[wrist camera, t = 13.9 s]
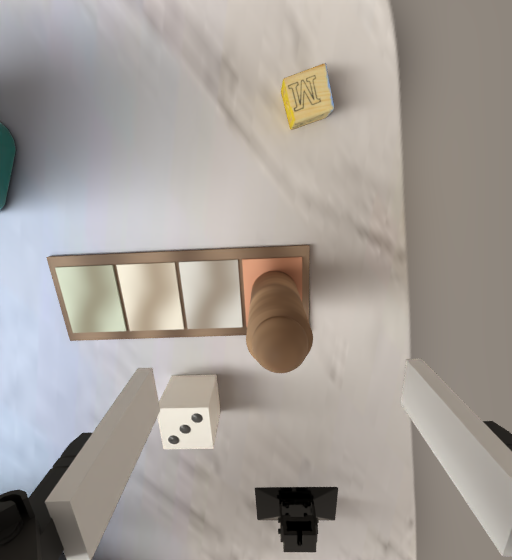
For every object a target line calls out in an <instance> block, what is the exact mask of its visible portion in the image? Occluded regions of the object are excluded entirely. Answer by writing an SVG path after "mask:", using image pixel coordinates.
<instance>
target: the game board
mask: <svg viewBox="0 0 512 560" xmlns="http://www.w3.org/2000/svg"><path fill="white" fill-rule="evenodd" d="M309 252H310V246H309V245H298V246H275V247H252V248H229V249H206V250H183V251H161V252H138V253H115V254H92V255H69V256H49V257H47V261H48V264H49V268H50V271H51V275H52V279H53V282H54V286H55V289H56V293H57V296H58V300H59V303H60V307H61V310H62V314H63V317H64V321H65V324H66V328H67V332H68V335H69V339H70V341H76V340H108V339H139V338H170V337H201V336H233V335H247V326H248V317H249V309H250V300H251V291H252V286H253V284H254V282H255V280H256V279H257V278H258V277H259V276H260V275H262V274H263V273H265V272H268V271H281V272H284V273H286V274H288V275H289V276H290V277H291V278H292V279H293V280H294V282H295V284H296V287H297V290H298V293H299V295H300V298H301V301H302V304H303V307H304V310H305V313H306V316H307V318H308V321H309Z"/></svg>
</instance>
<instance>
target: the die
mask: <svg viewBox="0 0 512 560" xmlns="http://www.w3.org/2000/svg"><path fill="white" fill-rule="evenodd" d="M159 407H160V412H159V414H158V417H157V418H158V423H159V429H160V434H161V439H162V444H163V449H213V448H214V443H215V437H216V432H217V427H218V422H219V416H220V402H219V393H218V383H217V375H180V376H171V378H170V380H169V382H168V384H167V387H166V389H165V391H164V393H163V395H162V397H161V399H160V401H159Z"/></svg>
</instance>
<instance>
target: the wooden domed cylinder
mask: <svg viewBox="0 0 512 560" xmlns="http://www.w3.org/2000/svg"><path fill="white" fill-rule="evenodd" d="M246 343H247V347H248V350H249V352H250V353H251V355H252V356H253V357H254V358H255V359H256V360H257V361H258V362H259V364H260V365H262V366H263V367H264V368H265V369H267V370H269V371H271V372H275V373H286V372H290V371H292V370H294V369H296V368H297V367H298V366H300V365H301V363H302V362H303V361H304V359H305V357H306V356H307V354H308V353H309V351H310V349H311V347H312V343H313V334H312V330H311V327H310V324H309V321H308V318H307V316H306V313H305V310H304V307H303V304H302V301H301V298H300V295H299V293H298V290H297V287H296V284H295V282H294V280H293V279H292V278H291V277H290V276H289V275H288V274H286V273H284V272H281V271H268V272H265V273H263V274H262V275H260V276H259V277H258V278H257V279H256V280H255V282H254V284H253V286H252V291H251V300H250V309H249V317H248V326H247V335H246Z"/></svg>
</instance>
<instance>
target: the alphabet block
mask: <svg viewBox="0 0 512 560" xmlns="http://www.w3.org/2000/svg"><path fill="white" fill-rule="evenodd" d="M281 94H282V98H283V102H284V106H285V110H286V114H287V118H288V122H289V126H290V129H291V130H292V129H295V128H298V127H301V126H304V125H306V124H309V123H312V122H315V121H318V120H321V119H324V118H326V117H327V116H328V115H329V114H330V113H331V112H332V111H333V110H334V103H333V98H332V92H331V87H330V82H329V77H328V72H327V66H326V63H324V64H321V65H319V66H316V67H313V68H311V69H308V70H305V71H303V72H300V73H297V74H294V75H292V76H289V77H286V78H284V79H283V83H282V89H281Z"/></svg>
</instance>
